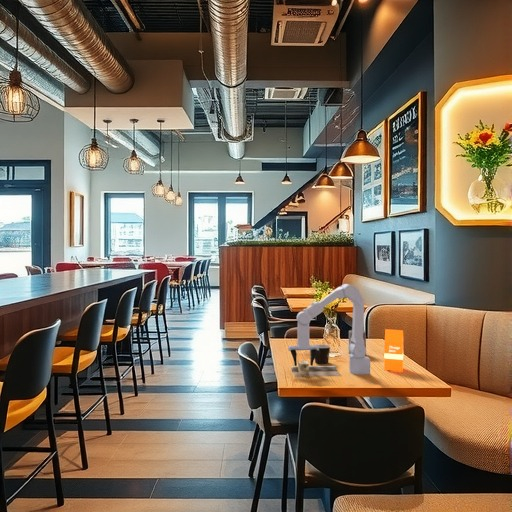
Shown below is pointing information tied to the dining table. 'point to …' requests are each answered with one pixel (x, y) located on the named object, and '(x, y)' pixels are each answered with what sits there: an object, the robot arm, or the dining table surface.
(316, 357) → the coffee mug
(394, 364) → the orange juice
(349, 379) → the dining table surface
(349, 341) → the grey tall block
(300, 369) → the block
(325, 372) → the marking board
